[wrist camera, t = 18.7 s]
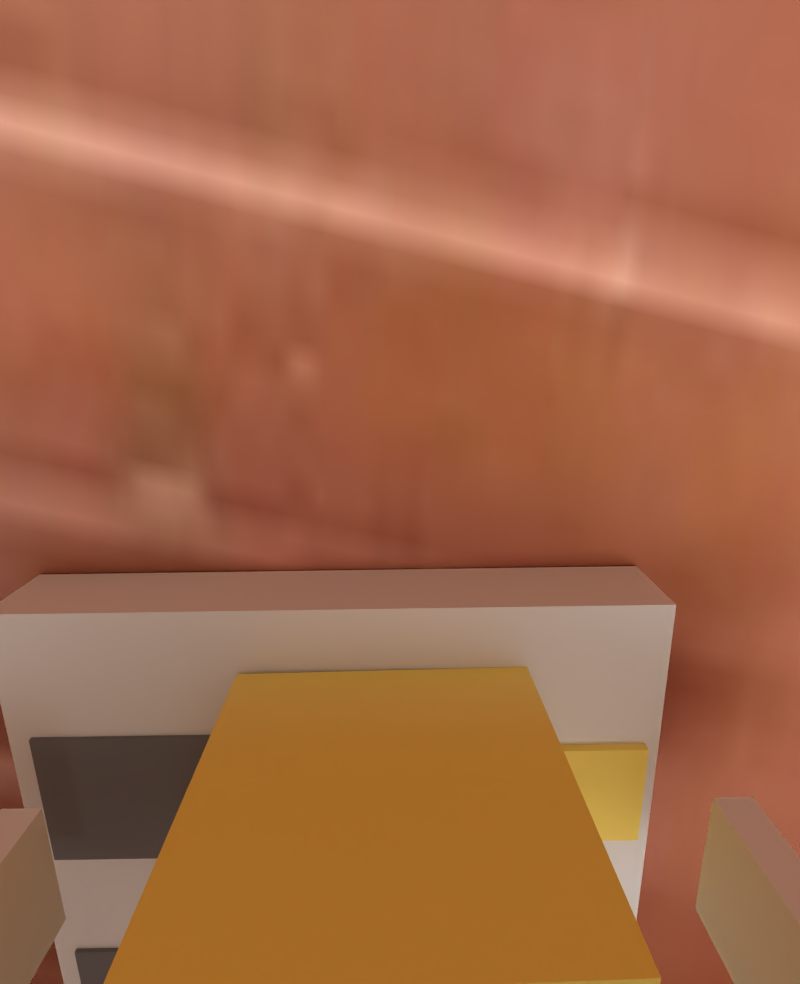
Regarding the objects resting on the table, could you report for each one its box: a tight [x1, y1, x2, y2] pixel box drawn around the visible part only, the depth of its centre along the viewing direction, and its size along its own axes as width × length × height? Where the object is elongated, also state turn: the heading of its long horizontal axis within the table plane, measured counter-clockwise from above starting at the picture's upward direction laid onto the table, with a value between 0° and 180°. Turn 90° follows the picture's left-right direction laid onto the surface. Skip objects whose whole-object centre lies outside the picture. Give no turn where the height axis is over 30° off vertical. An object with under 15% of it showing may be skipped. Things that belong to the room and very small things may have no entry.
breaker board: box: [0, 566, 676, 984], centre depth 14 cm, size 14×15×2 cm
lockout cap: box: [103, 667, 661, 984], centre depth 10 cm, size 6×6×6 cm
